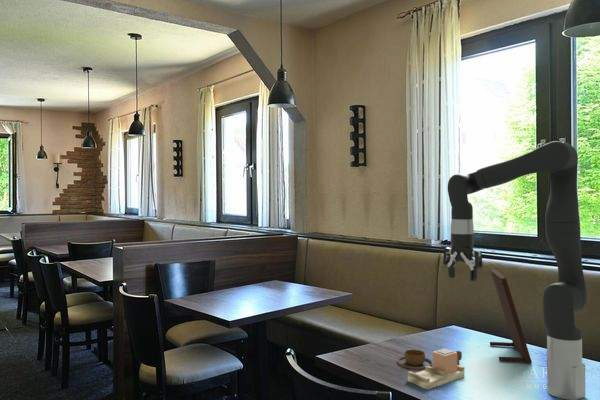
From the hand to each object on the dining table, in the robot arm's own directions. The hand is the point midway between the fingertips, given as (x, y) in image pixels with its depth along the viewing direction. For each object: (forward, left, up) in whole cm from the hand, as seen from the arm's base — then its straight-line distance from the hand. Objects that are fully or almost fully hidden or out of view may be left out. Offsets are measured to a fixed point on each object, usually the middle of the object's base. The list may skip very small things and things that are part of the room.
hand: (462, 279), depth 169 cm
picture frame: (-2, -25, -30) cm, 39 cm away
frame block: (-2, +13, -28) cm, 31 cm away
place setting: (+7, +11, -31) cm, 34 cm away
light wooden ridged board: (-2, +17, -30) cm, 35 cm away
